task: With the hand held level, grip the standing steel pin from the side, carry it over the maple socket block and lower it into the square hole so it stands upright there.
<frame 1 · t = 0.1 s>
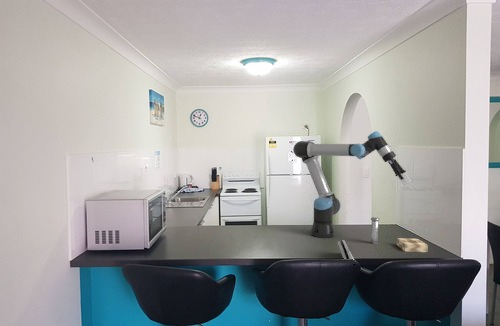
hand: (408, 183, 193), 36 cm above the breakfast bar, tool tilted 35°, fingers open, 13 cm apart
pin: (374, 243, 191), on the breakfast bar
hinge: (345, 259, 164), on the breakfast bar
socket block: (411, 248, 182), on the breakfast bar
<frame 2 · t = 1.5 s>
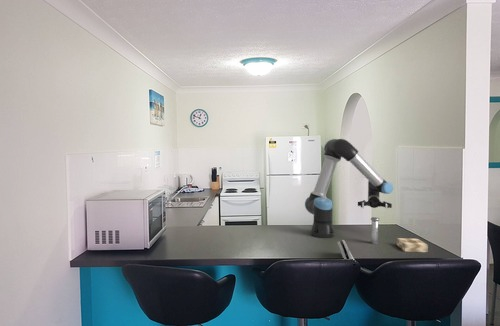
hand: (374, 206, 199), 20 cm above the breakfast bar, tool horizontal, fingers open, 13 cm apart
nothing on the breakfast bar moved.
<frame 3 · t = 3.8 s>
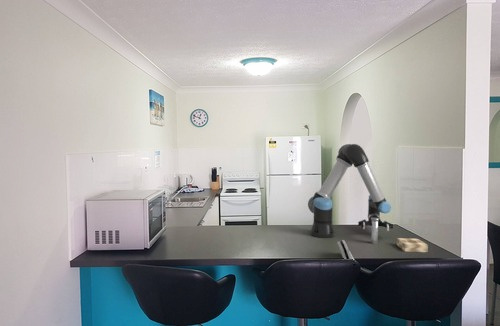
hand: (376, 227, 194), 8 cm above the breakfast bar, tool horizontal, fingers open, 13 cm apart
nothing on the breakfast bar moved.
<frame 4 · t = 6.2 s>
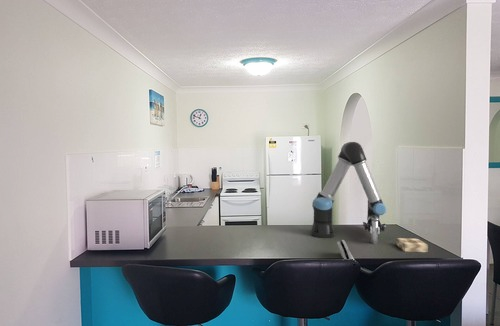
hand: (375, 231, 186), 9 cm above the breakfast bar, tool horizontal, fingers closed on pin, 3 cm apart
pin: (374, 243, 191), on the breakfast bar, touching gripper
everything else where it was.
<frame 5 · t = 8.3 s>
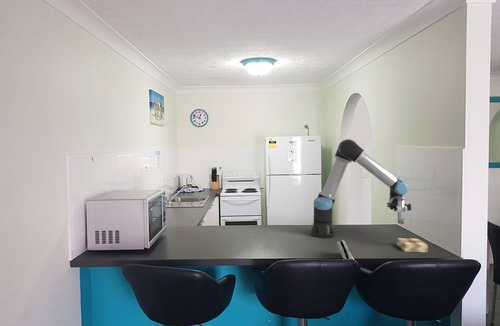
hand: (402, 210, 179), 22 cm above the breakfast bar, tool horizontal, fingers closed on pin, 3 cm apart
pin: (400, 223, 185), point 13 cm above the breakfast bar, touching gripper
everything else where it was.
when the fingers open (11 cm above the breakfast bar, at t = 10.4 s): pin drops 2 cm, resting in socket block.
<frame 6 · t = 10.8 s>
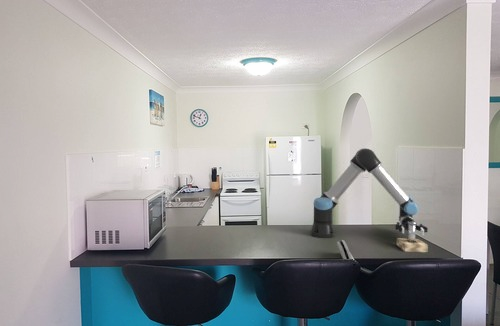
hand: (413, 231, 177), 10 cm above the breakfast bar, tool horizontal, fingers open, 9 cm apart
pin: (411, 248, 182), resting in socket block
everything else where it was.
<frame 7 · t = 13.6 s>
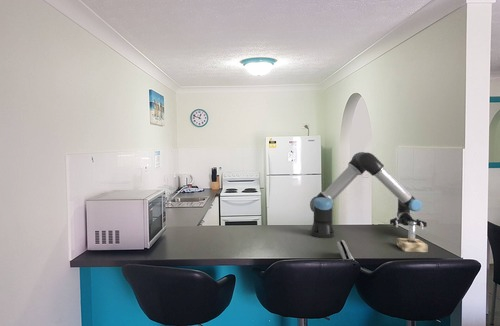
hand: (409, 226, 191), 11 cm above the breakfast bar, tool horizontal, fingers open, 13 cm apart
nothing on the breakfast bar moved.
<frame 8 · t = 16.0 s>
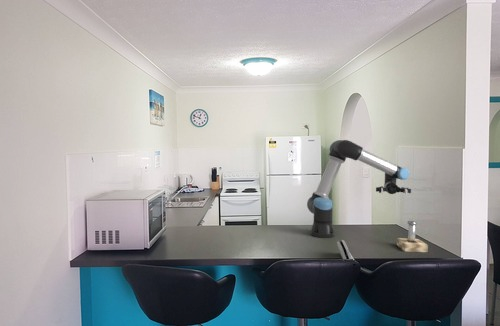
hand: (394, 191, 196), 30 cm above the breakfast bar, tool horizontal, fingers open, 13 cm apart
nothing on the breakfast bar moved.
at the end: pin 0.1 cm off-centre on the socket block, point 0.0 cm above the socket block's base; pin tilted 0°; the gripper is holding nothing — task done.
